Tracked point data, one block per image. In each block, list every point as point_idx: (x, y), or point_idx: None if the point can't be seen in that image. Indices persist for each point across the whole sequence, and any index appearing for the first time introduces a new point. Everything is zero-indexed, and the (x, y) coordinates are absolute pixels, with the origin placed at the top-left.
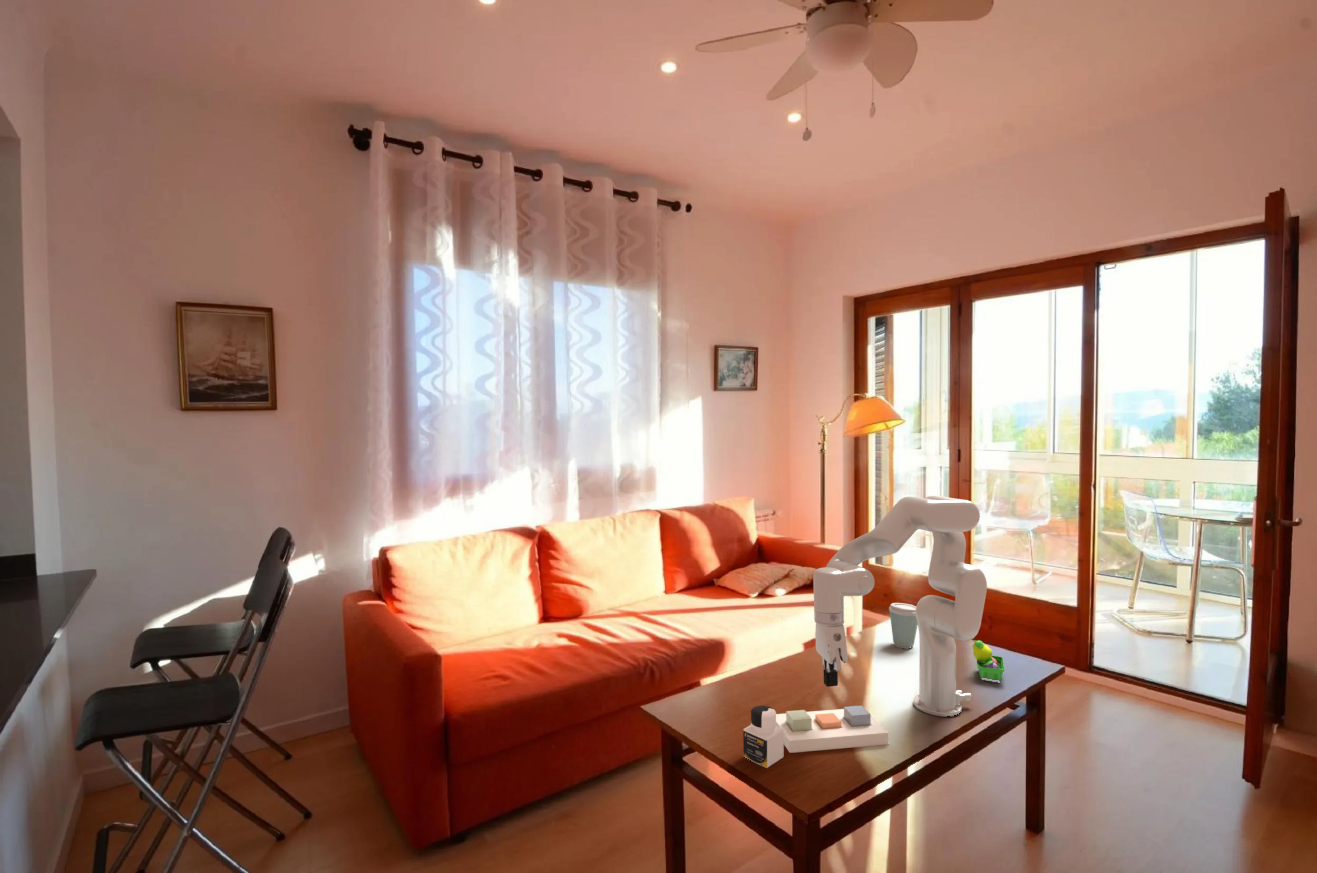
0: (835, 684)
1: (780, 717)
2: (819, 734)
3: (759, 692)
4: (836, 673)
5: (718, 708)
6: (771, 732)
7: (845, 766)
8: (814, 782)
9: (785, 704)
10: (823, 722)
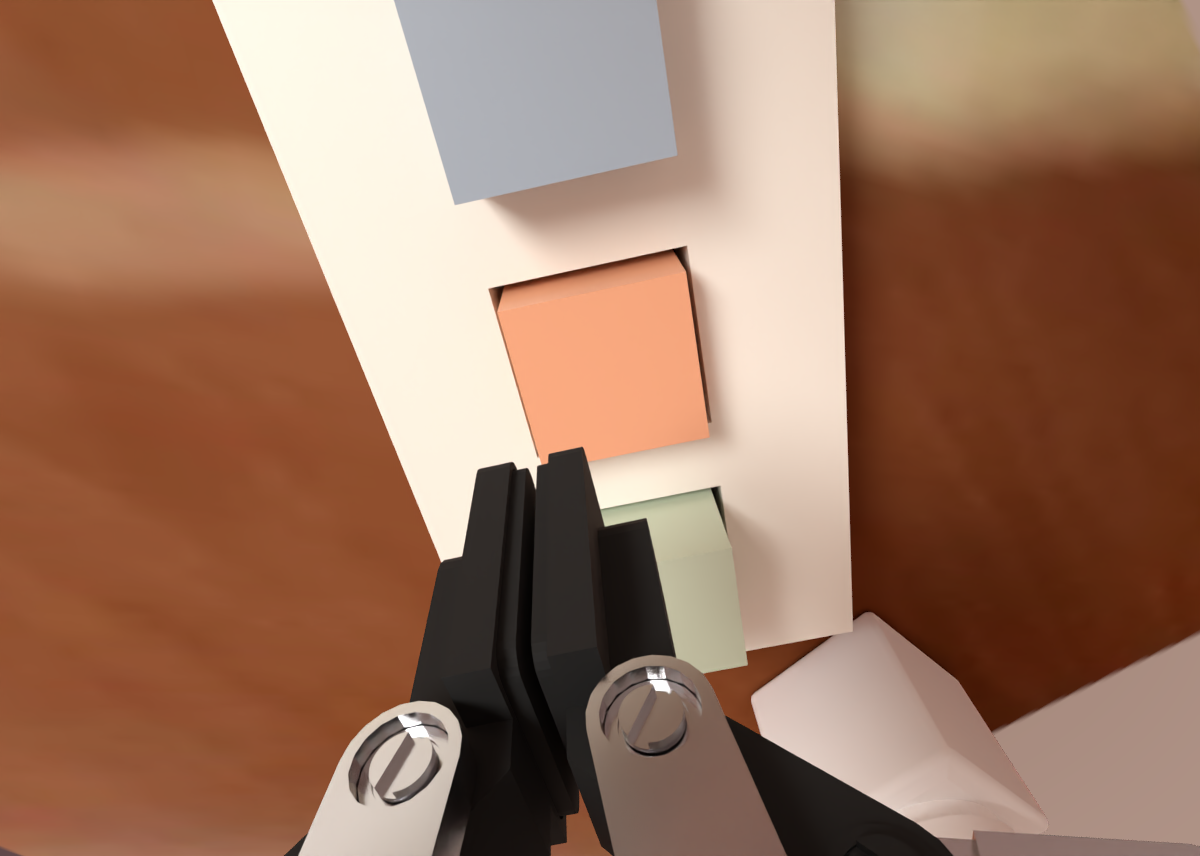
0: (589, 486)
1: None
2: (791, 453)
3: (21, 676)
4: (599, 614)
5: None
6: (994, 814)
7: (1042, 289)
8: (1143, 495)
9: (157, 545)
10: (693, 430)
